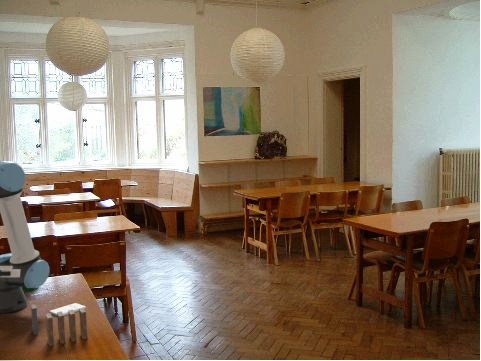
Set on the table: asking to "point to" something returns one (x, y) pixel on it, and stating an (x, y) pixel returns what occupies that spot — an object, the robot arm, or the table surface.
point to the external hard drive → (65, 309)
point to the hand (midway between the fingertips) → (16, 271)
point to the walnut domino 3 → (72, 325)
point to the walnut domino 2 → (61, 327)
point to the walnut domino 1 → (50, 329)
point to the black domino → (34, 319)
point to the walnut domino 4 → (83, 323)
